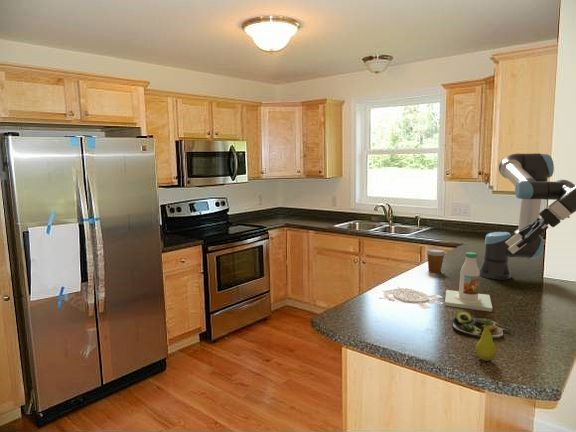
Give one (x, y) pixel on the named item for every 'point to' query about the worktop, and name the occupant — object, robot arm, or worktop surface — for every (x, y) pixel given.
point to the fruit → (486, 345)
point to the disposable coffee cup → (435, 260)
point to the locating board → (468, 301)
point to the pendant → (412, 296)
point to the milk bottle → (469, 278)
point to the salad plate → (476, 325)
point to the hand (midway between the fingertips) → (508, 248)
